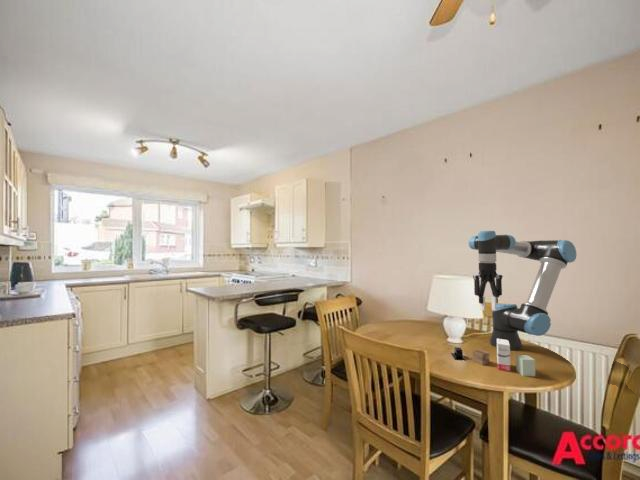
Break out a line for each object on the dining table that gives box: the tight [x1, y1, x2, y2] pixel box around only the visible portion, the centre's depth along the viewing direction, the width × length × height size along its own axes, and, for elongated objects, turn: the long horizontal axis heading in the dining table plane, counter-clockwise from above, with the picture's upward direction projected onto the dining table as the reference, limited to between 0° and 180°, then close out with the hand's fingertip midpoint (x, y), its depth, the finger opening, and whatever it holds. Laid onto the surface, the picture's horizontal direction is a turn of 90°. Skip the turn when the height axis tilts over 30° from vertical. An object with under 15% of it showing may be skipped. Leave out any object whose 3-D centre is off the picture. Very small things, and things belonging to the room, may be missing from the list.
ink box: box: [496, 339, 512, 372], centre depth 132 cm, size 8×5×12 cm, turn 152°
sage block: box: [515, 354, 536, 377], centre depth 125 cm, size 5×5×7 cm
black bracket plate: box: [450, 346, 467, 362], centre depth 145 cm, size 12×7×5 cm, turn 167°
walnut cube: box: [472, 349, 491, 366], centre depth 138 cm, size 5×5×5 cm
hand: (488, 310), depth 139 cm, fingers open, 5 cm apart
